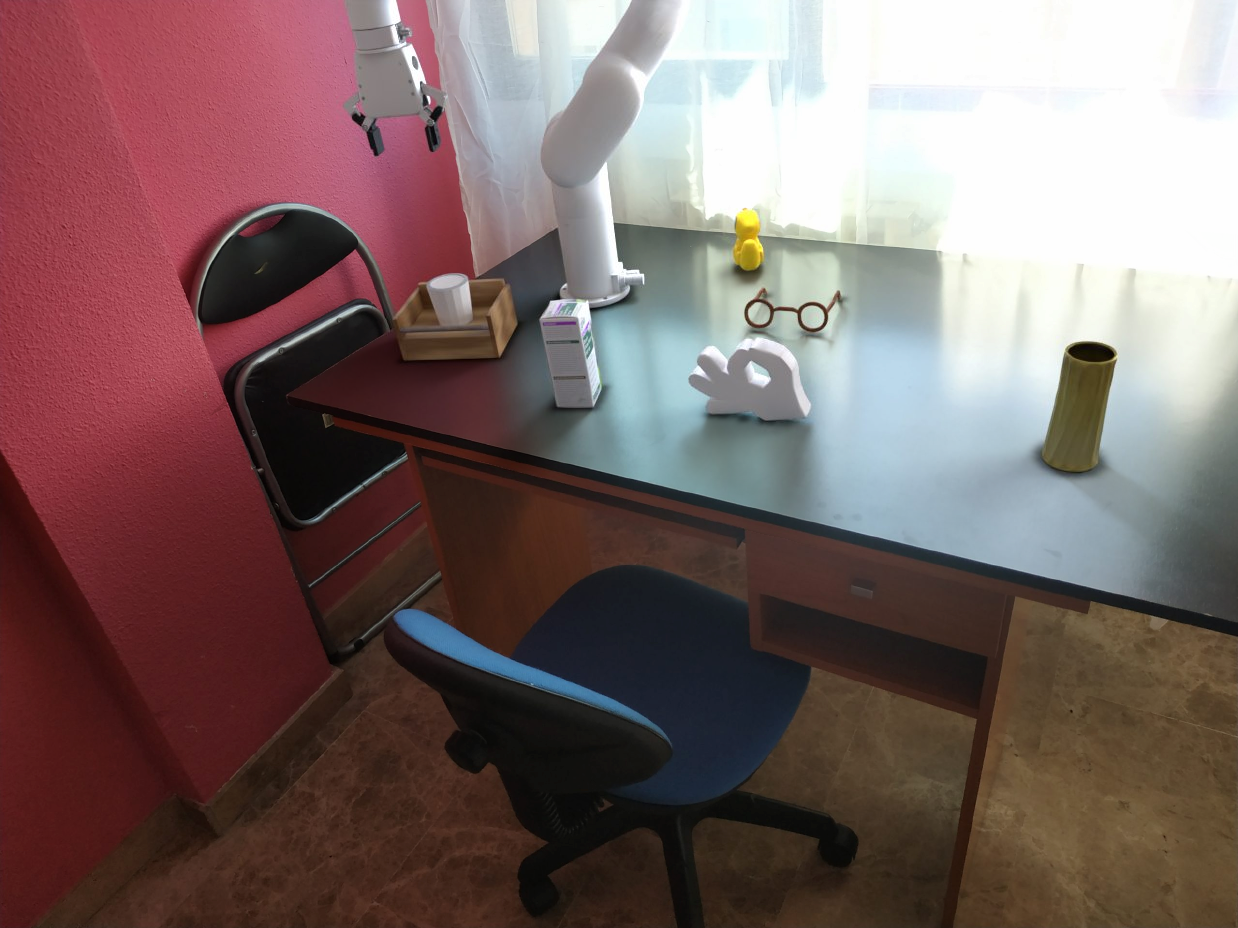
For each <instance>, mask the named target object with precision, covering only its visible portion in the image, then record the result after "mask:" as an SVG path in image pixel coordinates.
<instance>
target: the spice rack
mask: <svg viewBox="0 0 1238 928" xmlns="http://www.w3.org/2000/svg"><path fill="white" fill-rule="evenodd" d="M428 282H429V281H420V282H419V283H417V287H416V288H415V289H414V291H413V292H412V293H411V294H410V296H409V297H408V298H407V300H406V301H405V302H404V303H403V305H402V306H401V308H399V310H398V311H397V312H396V314H394V316H393V317H392V319H391V321H392V325H393V329H394V332H395V336H396V339H397V343H398V346H399V350H400V353H401V355H402V360H403V361H431V360H432V361H434V360H435V361H436V360H437V361H438V360H467V359H468V360H469V359H494V358H496V359H500V358H501V356H502V354H503V352H504V351H505V348H506V347H507V345H508V342H509V341H510V339H511V337H512V335H513V333H514V331H515V329H516V328H517V326H518V319H517V315H516V309H515V304H514V299H513V295H512V289H511V288H512V287H511V285H510V283H505V278H504V277H503V278H485V279H483V278H482V279H468V282H469V290H470V298H471V306H472V313H473V320H472V321H471V322H470V323H468V324H467V325H454V326H441V325H440V323H439V321H438V318H437V315H436V312H435V310H434V307H433V304H432V301H431V298H430V296H429V293H428V290H427V283H428Z"/></svg>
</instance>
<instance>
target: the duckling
mask: <svg viewBox="0 0 1238 928" xmlns="http://www.w3.org/2000/svg"><path fill="white" fill-rule="evenodd" d="M733 229H734V233H735V235H736V237H737V239H736V241H735V245H734V246H733V249H732V256H733V261H734V263H735V264H736V265H737V266H739V267H740V268H741V269H742V270H744V271H755V270H757V269H758V268H759V266H760V264H763V262H764V260H765V253H764V248H763V244H761V242H760V239H759V238H758V235H759V234H760V231H761V219H760V216H759V214H758V213H757V212H756V211H755V210H752V209H748V208H747V207H743V208H742V209H741V211H739V212H738V213H737V214H736V216H735V218H734V221H733Z"/></svg>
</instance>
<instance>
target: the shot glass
mask: <svg viewBox="0 0 1238 928" xmlns="http://www.w3.org/2000/svg"><path fill="white" fill-rule="evenodd" d="M468 280H469V277H468V276H467V275H466V274H464V273H457V272H455V273H445V274H442V275H438V276H436V277H435V276H434V277H433V278H432V279H430V280H429V281H427V282H428V283H427V290H428V293H429V296H430V298H431V301H432V304H433V307H434V310H435V312H436V315H437V318H438V321H439V323H440V325H441V326H454V325H467V324H468V323H470V322H471V321H472V320H473V313H472V306H471V298H470V290H469V282H468Z"/></svg>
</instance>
